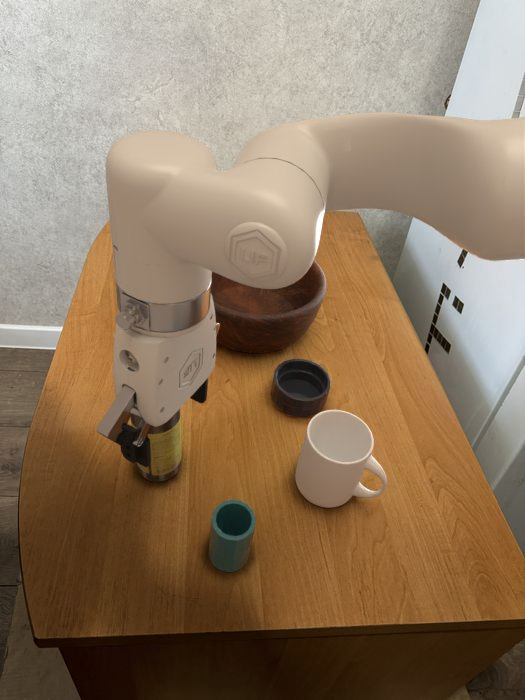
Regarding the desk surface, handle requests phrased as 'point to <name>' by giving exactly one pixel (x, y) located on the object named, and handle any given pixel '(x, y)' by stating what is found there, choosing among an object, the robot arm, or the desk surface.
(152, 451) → the sauce bottle
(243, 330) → the wooden bowl
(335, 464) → the mug
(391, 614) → the desk surface
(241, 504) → the cup
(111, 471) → the desk surface
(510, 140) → the robot arm
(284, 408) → the bowl
